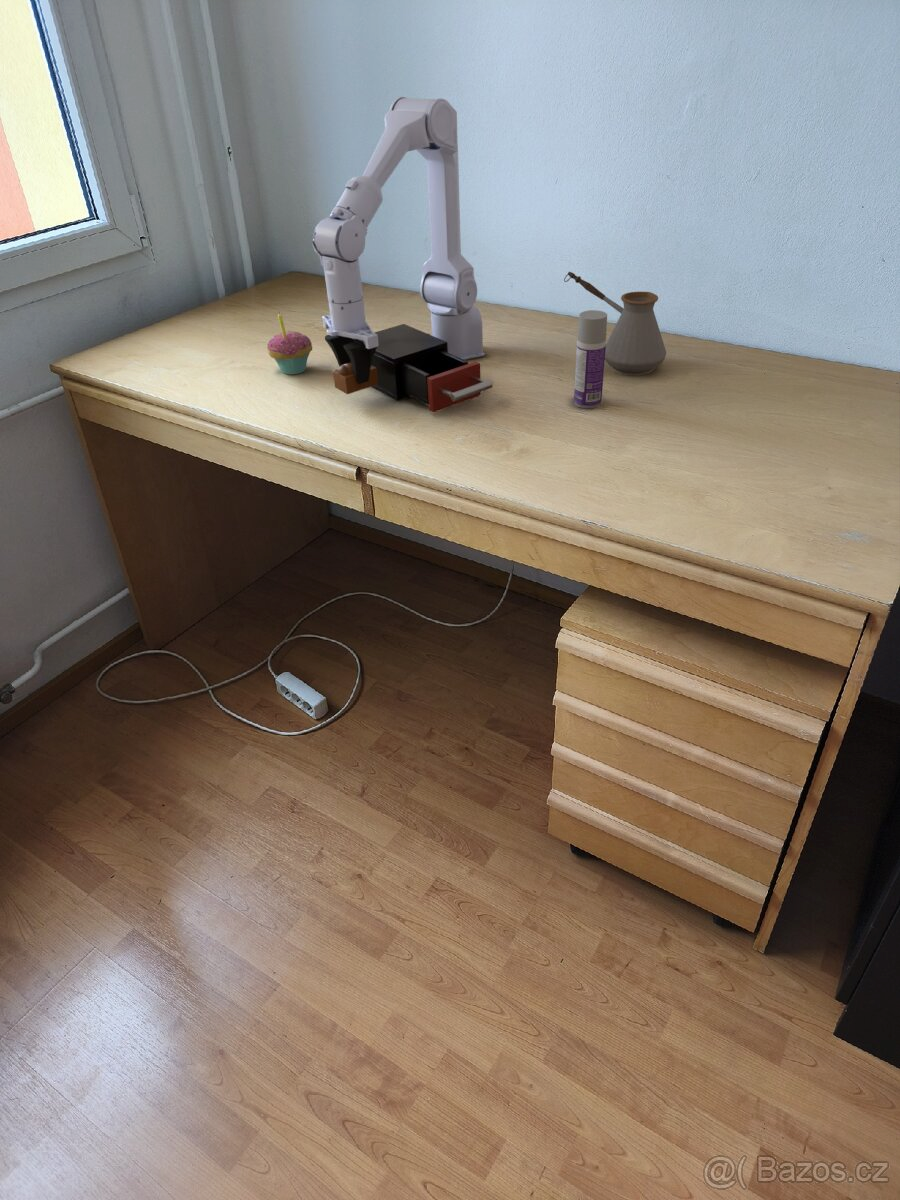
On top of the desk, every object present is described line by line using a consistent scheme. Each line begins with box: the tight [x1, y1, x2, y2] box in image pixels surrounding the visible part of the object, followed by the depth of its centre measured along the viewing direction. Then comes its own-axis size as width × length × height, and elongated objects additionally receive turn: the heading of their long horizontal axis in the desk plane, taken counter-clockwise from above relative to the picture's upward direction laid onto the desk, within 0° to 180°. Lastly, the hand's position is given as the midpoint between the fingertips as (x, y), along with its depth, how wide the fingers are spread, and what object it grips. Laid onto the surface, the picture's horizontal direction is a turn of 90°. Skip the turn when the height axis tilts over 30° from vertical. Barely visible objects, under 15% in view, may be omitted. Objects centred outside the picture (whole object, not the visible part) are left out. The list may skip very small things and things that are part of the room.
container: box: [573, 309, 608, 410], centre depth 132 cm, size 5×5×15 cm
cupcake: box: [267, 310, 313, 375], centre depth 151 cm, size 9×8×12 cm
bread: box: [332, 362, 378, 395], centre depth 138 cm, size 6×4×4 cm, turn 127°
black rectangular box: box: [370, 323, 448, 401], centre depth 146 cm, size 14×12×8 cm
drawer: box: [398, 349, 493, 414], centre depth 137 cm, size 17×10×6 cm, turn 38°
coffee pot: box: [563, 271, 667, 376], centre depth 146 cm, size 21×12×15 cm, turn 49°
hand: (355, 378), depth 139 cm, fingers closed on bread, 4 cm apart
